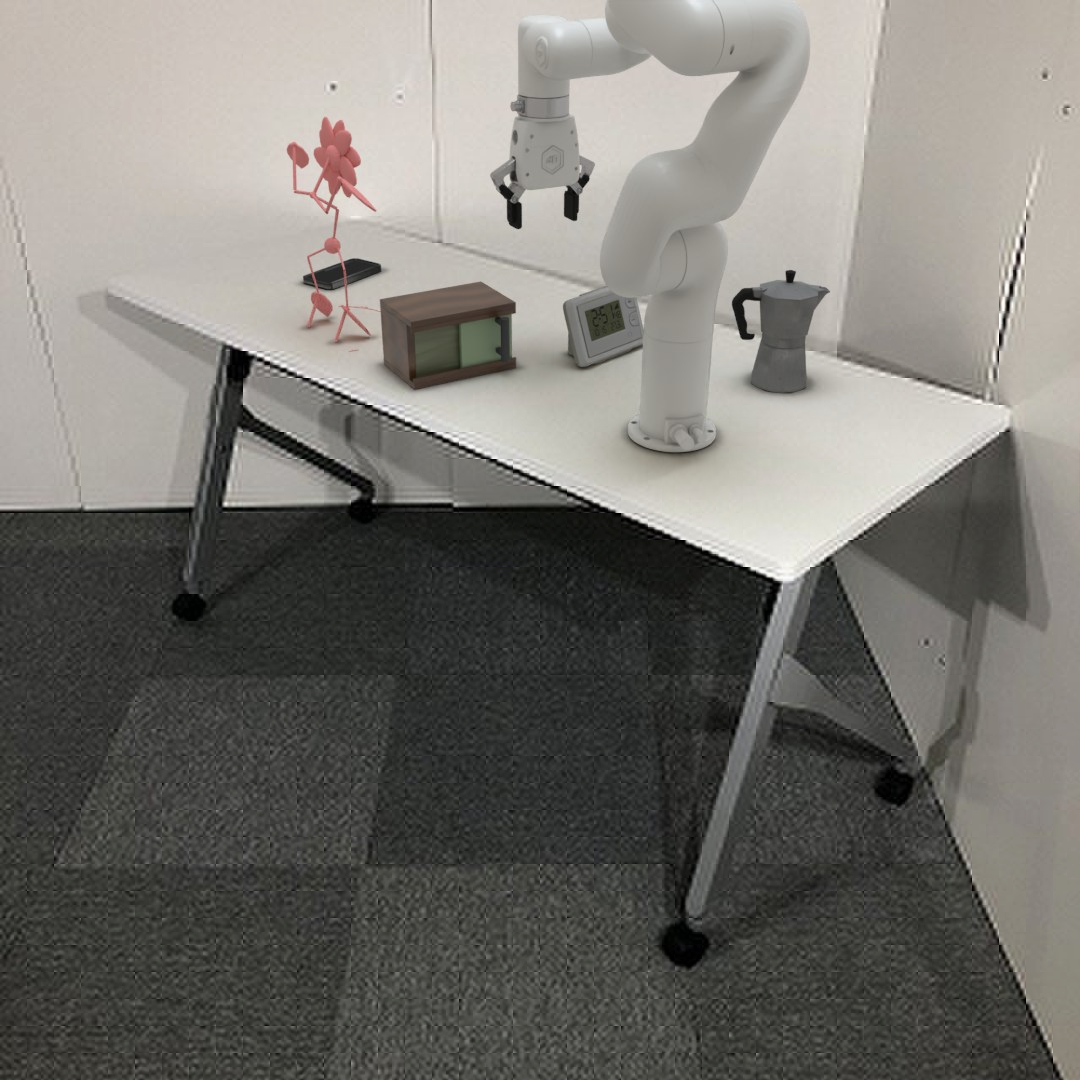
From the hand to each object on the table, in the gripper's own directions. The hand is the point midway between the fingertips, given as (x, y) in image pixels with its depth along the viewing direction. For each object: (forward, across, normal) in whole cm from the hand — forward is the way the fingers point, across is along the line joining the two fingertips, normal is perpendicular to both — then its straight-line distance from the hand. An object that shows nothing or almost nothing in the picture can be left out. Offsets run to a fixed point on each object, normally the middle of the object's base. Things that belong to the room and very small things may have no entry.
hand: (543, 222), depth 185 cm
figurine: (+23, -22, +28) cm, 42 cm away
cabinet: (+22, -15, +5) cm, 27 cm away
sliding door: (+21, -10, -2) cm, 24 cm away
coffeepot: (+23, +28, -25) cm, 44 cm away
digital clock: (+23, +10, -2) cm, 25 cm away
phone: (+22, -14, +56) cm, 62 cm away
